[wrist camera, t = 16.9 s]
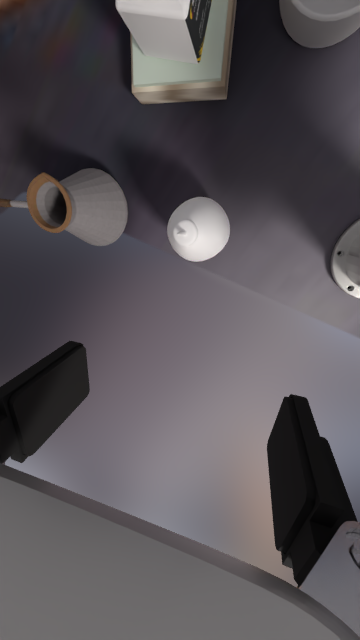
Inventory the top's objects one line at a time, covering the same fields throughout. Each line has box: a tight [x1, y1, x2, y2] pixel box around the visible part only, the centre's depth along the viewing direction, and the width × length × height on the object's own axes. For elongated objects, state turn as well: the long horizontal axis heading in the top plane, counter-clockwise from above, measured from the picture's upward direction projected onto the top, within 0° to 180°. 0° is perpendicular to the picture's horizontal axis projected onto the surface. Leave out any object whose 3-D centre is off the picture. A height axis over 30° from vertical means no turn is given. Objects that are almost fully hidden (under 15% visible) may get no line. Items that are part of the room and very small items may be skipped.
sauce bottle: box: [167, 197, 230, 262], centre depth 29 cm, size 8×8×18 cm
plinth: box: [130, 0, 237, 104], centre depth 27 cm, size 12×12×4 cm
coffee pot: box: [0, 168, 128, 246], centre depth 34 cm, size 21×12×15 cm, turn 86°
